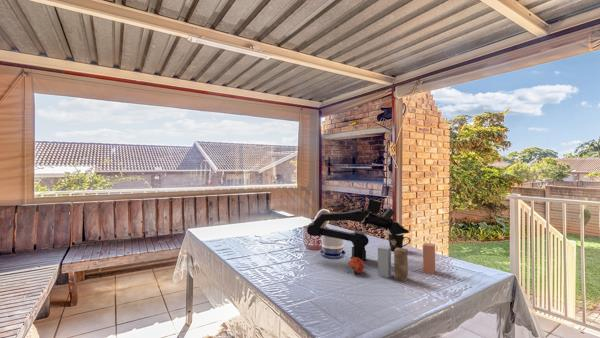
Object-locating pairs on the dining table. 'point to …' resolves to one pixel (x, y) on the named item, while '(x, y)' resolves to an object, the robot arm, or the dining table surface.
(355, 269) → the pomegranate
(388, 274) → the slate block
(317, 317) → the dining table surface
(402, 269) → the walnut block
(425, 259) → the rust block
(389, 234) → the coffee mug
